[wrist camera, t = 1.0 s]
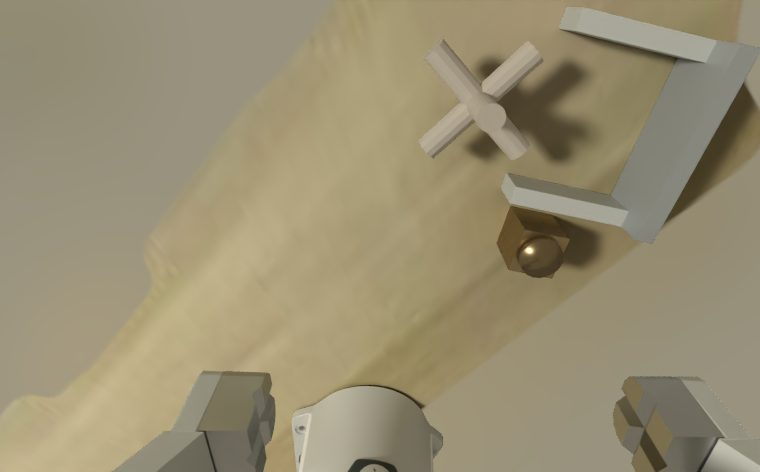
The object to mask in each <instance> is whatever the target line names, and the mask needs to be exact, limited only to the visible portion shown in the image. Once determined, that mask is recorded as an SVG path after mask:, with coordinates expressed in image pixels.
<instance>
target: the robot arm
mask: <svg viewBox="0 0 760 472" xmlns="http://www.w3.org/2000/svg"><path fill="white" fill-rule="evenodd" d="M271 386H272V382H271V377H270V374H269V373H260V372H233V371H225V372H223V371H203V372H202V373H201V374H200V375H199V376H198V378H197V380H196V382H195V384H194V386H193V388H192V390H191V392H190V394H189V396H188V398H187V400H186V402H185V404H184V406H183V408H182V410H181V412H180V414H179V416H178V418H177V420H176V422H175V424H174V426H173V428H172V430H171V431H164V432H163V433H161V434H160V435H159V436H158V437H156V438H155V439H154V440H152V441H151V442H150V443H148V444H147V445H146V446H145V447H143V448H142V449H141V450H139V451H138V452H137V453H136V454H134V455H133V456H132V457H130V458H129V459H128V460H126V461H125V462H124V463H123V464H121V465H120V466H119V467H117V468H116V469H115V470H114V471H112V472H263V470H264V466H265V462H266V453H265V446H266V445H267V444H268V443H269V442H270V441H271V439H272V435H273V430H274V424H275V400H274V397H272V396H271V395H270V394H269V393H270V390H271ZM622 390H623V392H624V394H625V395H626V396H624V397H623V398H621V399H620V400H619V401H617V402H616V405H615V408H614V412H613V419H614V427H615V431H616V434H617V436H618V438H619V440H620V442H621V444H622V445H623V446H624V447H625V448H626V449H628V450H629V451H630V452H631V453H633V454H634V455H633V459H632V465H633V467H634V469H635V471H636V472H760V439H752V438H751V437H750V436H749V435H748V433H747V432H746V431H745V430H744V429H743V427H742V426H741V425H740V424H739V422H738V421H737V420H736V419H735V418H734V416H733V415H732V414H731V413H730V412H729V410H728V409H727V408H726V407H725V405H724V404H723V403H722V402H721V401H720V399H718V397H717V396H716V395H715V393H714V392H713V391H712V390H711V388H710V387H709V386H708V385H707V384H706V383H705V381H703V380H702V379H700V378H699V377H628V378H627V379H626V380H625V381H624V383H623V386H622ZM292 429H293V439H294V448H295V458H296V467H297V472H433V458H434V457H435V456H436V454H437V453H438V451H439V450H440V449H441V448H442V446H443V436H442V435H441V434H440V433H439V432H438V431H437V430H436V429H435V428H433V427H432V426H430V425H429V423H428V422H427V420H426V418H425V416H424V414H423V412H422V411H421V409H420V408H419V407H418V406H417V405H416V404H415V403H414V402H413V401H412V400H411V399H409V398H408V397H406V396H404V395H402V394H400V393H398V392H396V391H393V390H390V389H386V388H382V387H374V386H358V387H351V388H346V389H343V390H340V391H337V392H335V393H333V394H331V395H329V396H327V397H326V398H324V399H323V400H322V401H320V402H319V403H317V404H316V405H314V406H309V407H306V408H302V409H299V410H297V411H295V412H294V413H293V416H292Z"/></svg>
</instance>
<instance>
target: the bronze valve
mask: <svg viewBox="0 0 760 472" xmlns="http://www.w3.org/2000/svg"><path fill="white" fill-rule="evenodd" d="M569 241H570V238H569V237H568V236H567V234H566V233H565V232H564V230H563V229H562V228H561V226H560V225H559V224H558V223H557V221H556V220H555V219H554V217H553V216H552V215H551V214H546V213H541V212H537V211H532V210H527V209H522V208H518V207H513V206H510V209H509V212H508V214H507V217H506V219H505V222H504V225H503V227H502V230H501V233H500V235H499V238H498V240H497V245H498V248H499V250H500V252H501V254H502V256H503V259H504V261H505V263H506V265H507V268H508V270H512V271H517V272H522V273H526V274H527V275H529V276H531V277H536V278H542V277H547V278H553V275H554V273H555V272H556V271H557V270H558V269H559V268H560V266H561V264H562V262H563V258H564V255H563V254H564V252H565V250H566V247H567V245H568V243H569Z"/></svg>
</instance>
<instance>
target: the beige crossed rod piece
mask: <svg viewBox="0 0 760 472" xmlns="http://www.w3.org/2000/svg"><path fill="white" fill-rule="evenodd" d="M423 59H424V60H425V61H426V63H427V64H428V65H429V66H430V67H431V68H432V70H433V71H434V72H435V73H436V74H437V75H438V77H439V78H440V79H441V80H442V81H443V82H444V84H445V85H446V86H447V87H448V88H449V89H450V91H451V92H452V93H453V94H454V95H455V96H456V97H457V99H458V100H459V101H460V103H459V104H458V105H457V106H456V107H455V108H453V109H452V110H451V111H450V112H449V113H448V114H447V115H446V116H445V117H444V118H442V119H441V120H440V121H439V122H438V123H437V124H436V125H435V126H434V127H433V128H431V129H430V130H429V131H428V132H427V133H426V134H425V135H424V136H423V137H422V138H421V139H419V140H418V142H419V144H420V145H421V147H422V148H423V149H424V150H425V152H426V153H427V154H428V155H429V156H430V157H432V158H434V157H435V156H436V155H438V154H439V153H440V152H441V151H442V150H443V149H444V148H446V147H447V146H448V145H449V144H450V143H451V142H452V141H453V140H455V139H456V138H457V137H458V136H459V135H460V134H461V133H463V132H464V131H465V130H466V129H467V128H468V127H469V126H470V125H472V124H473V123H474V122H476V123H477V125H478V126H479V128H480V129H481V130H483V131H485V132H487V134H488V135H489V136H490V137H491V138H492V139H493V140H494V142H495V143H496V144H497V145H498V146H499V147H500V149H501V150H502V151H503V152H504V153H505V154H506V156H507V157H508V158H509V159H510V160H514V159H517V158H519V157H520V156H522V155H523V154H524V153H525V152H526V151H527V150H528V148H529V146H530V144H529V142H528V141H527V140H526V138H525V137H524V136H523V135H522V134H521V132H520V131H519V130H518V129H517V128H516V126H515V125H514V124H513V123H512V122H511V120H510V119H509V118H508V117H507V115H506V112H505V110H504V108H503V107H502V106H501V105H499V104H498V103H497V102H498V101H499V100H500V99H501V98H502V97H503V96H504V95H506V94H507V93H508V92H509V91H510V90H511V89H512V88H514V87H515V86H516V85H517V84H518V83H519V82H520V81H521V80H523V79H524V78H525V77H526V76H527V75H528V74H529V73H531V72H532V71H533V70H534V69H535V68H536V67H537V66H538V65H540V64H541V63H542V62H543V58H542V57H541V55H540V54H539V52H538V51H537V50H536V49H535V47H534V46H533V45H532V44H531V43H529V42H528V41H527V42H526V43H525V44H524V45H522V46H521V47H520V48H519V49H518V50H517V51H516V52H515V53H514V54H513V55H511V56H510V57H509V58H508V59H507V60H506V61H505V62H504V63H503V64H502V65H501V66H499V67H498V68H497V69H496V70H495V71H494V72H493V73H492V74H491V75H490V76H488V77H487V78H486V79H485V80H484V81H483V82H482V83H481V84H480V83H479V82H478V80H477V79H476V78H475V77H474V76H473V74H472V73H471V72H470V71H469V70H468V68H467V67H466V66H465V65H464V64H463V62H462V61H461V60H460V59H459V57H458V56H457V55H456V54H455V53H454V51H453V50H452V49H451V48H450V47H449V45H448V44H447V43H446V42H445V41H444V39H442V40H441V41H439V42H438V43H437V44H436V45H435V46H434V47H433V48H432V49H431V50H430V51H429V52H428V53H427V54H426V55H425V56H424V58H423Z"/></svg>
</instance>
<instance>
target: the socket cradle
mask: <svg viewBox="0 0 760 472" xmlns="http://www.w3.org/2000/svg"><path fill="white" fill-rule="evenodd" d="M558 29H562V30H566V31H570V32H574V33H578V34H582V35H586V36H591V37H595V38H599V39H603V40H607V41H611V42H615V43H619V44H623V45H627V46H631V47H635V48H639V49H643V50H648V51H652V52H656V53H660V54H664V55H668V56H672V57H676V58H678V59H677V61H676V63H675V65H674V67H673V69H672V71H671V73H670V75H669V77H668V79H667V81H666V83H665V85H664V87H663V89H662V91H661V93H660V95H659V97H658V100H657V102H656V104H655V106H654V108H653V110H652V112H651V114H650V116H649V118H648V120H647V122H646V124H645V126H644V128H643V130H642V132H641V134H640V136H639V139H638V141H637V143H636V145H635V147H634V149H633V151H632V153H631V155H630V157H629V159H628V161H627V163H626V165H625V167H624V169H623V171H622V173H621V175H620V177H619V180H618V182H617V184H616V186H615V188H614V190H613V192H612V194H611V195H606V194H602V193H597V192H592V191H588V190H583V189H579V188H574V187H569V186H565V185H560V184H555V183H551V182H546V181H542V180H537V179H532V178H528V177H523V176H519V175H514V174H509V173H506V175H505V178H504V180H503V183H502V186H501V190H502V191H503V193H504V194H505V196H506V198H507V199H508V201H509V203H511V204H516V205H521V206H526V207H530V208H535V209H540V210H544V211H549V212H554V213H559V214H563V215H568V216H573V217H578V218H582V219H587V220H592V221H597V222H601V223H606V224H611V225H615V226H620V227H622V228H623V229H624V230H625V231H626V232H627V233H628V234H629V235H630V236H631V237H632V238H633V239H634V240H637V241H641V242H646V243H651V244H652V243H653V242H654V240H655V238H656V236H657V234H658V233H659V231H660V229H661V228H662V226H663V224H664V222H665V220H666V219H667V217H668V215H669V213H670V212H671V210H672V208H673V206H674V205H675V203H676V201H677V199H678V197H679V196H680V194H681V192H682V190H683V189H684V187H685V185H686V183H687V181H688V180H689V178H690V176H691V174H692V173H693V171H694V169H695V167H696V166H697V164H698V162H699V160H700V158H701V157H702V155H703V153H704V151H705V150H706V148H707V146H708V144H709V142H710V141H711V139H712V137H713V135H714V134H715V132H716V130H717V128H718V127H719V125H720V123H721V121H722V119H723V118H724V116H725V114H726V112H727V111H728V109H729V107H730V105H731V103H732V102H733V100H734V98H735V96H736V95H737V93H738V91H739V89H740V88H741V86H742V84H743V82H744V80H745V79H746V77H747V75H748V73H749V72H750V70H751V68H752V66H753V64H754V63H755V61H756V59H757V57H758V55H759V54H760V48H759V47H754V46H751V45H747V44H742V43H734V42H725V41H716V40H712V39H708V38H704V37H700V36H696V35H692V34H688V33H684V32H680V31H676V30H672V29H668V28H664V27H660V26H656V25H652V24H648V23H644V22H640V21H636V20H632V19H628V18H624V17H620V16H616V15H612V14H608V13H604V12H600V11H596V10H592V9H588V8H584V7H566V9H565V12H564V15H563V17H562V20H561V23H560V26H559V28H558Z"/></svg>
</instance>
